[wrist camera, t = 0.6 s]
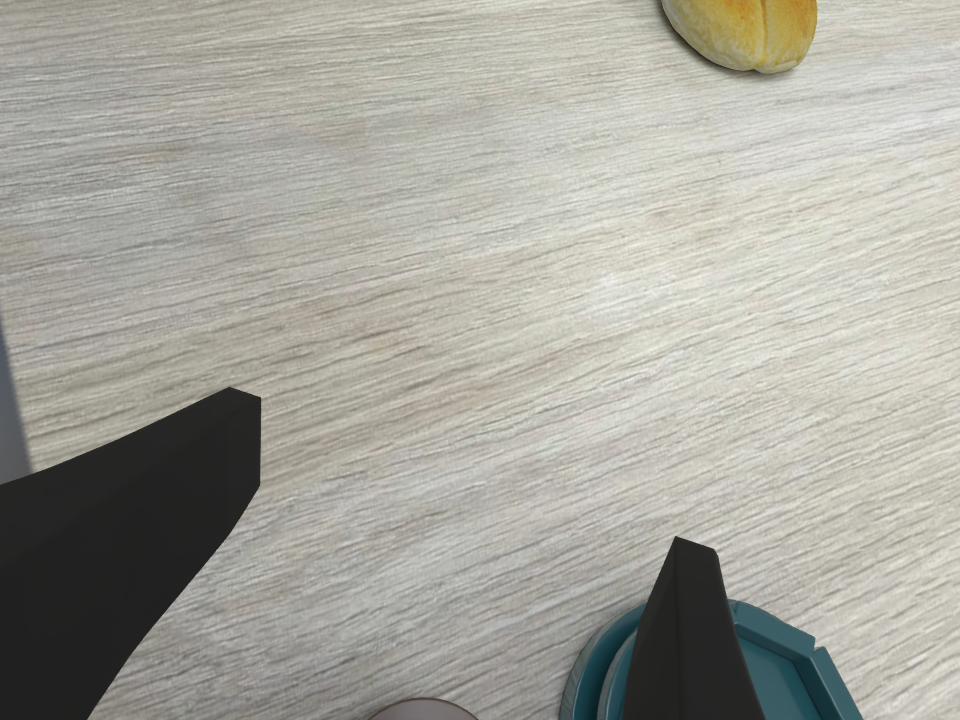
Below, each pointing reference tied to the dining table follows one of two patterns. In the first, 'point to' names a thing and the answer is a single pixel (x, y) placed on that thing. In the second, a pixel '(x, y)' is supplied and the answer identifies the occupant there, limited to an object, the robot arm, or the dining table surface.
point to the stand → (767, 651)
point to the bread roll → (746, 31)
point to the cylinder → (420, 711)
